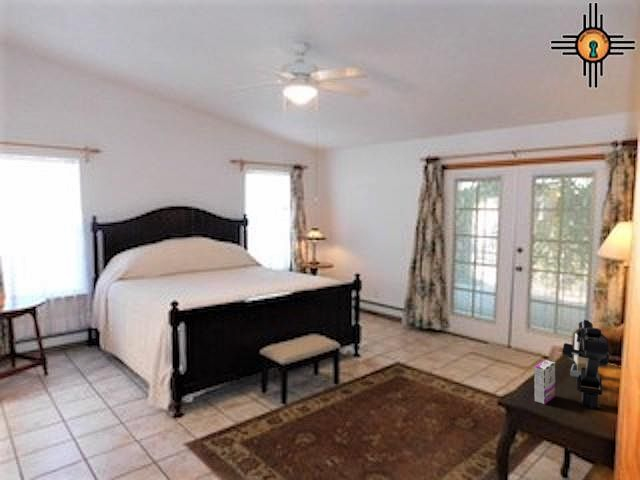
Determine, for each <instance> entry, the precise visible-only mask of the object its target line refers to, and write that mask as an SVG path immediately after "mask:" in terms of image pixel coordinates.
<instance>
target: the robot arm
mask: <svg viewBox="0 0 640 480" xmlns="http://www.w3.org/2000/svg"><path fill="white" fill-rule="evenodd" d="M575 330H576V331H575V333H576V334H577V335H578V337H577V342H579V343H580V344H579V350H575V349H574V344H572V343H567V342H564V343H563V347H562V351H561V354H562V356H564V357H566V358H568V359H569V360H571V361H572V362H574V355H578V356H579V357H582V358H586V359H587V363H586V368H583V367H582V368H581V372H580V375H578V377H576V391H578V392H579V393H581V400H578V401H577V402H578V404H580V405H581V406H582V407H584V408H585V409H588V410H589V409H590V410H591V409H592V410H593V409H602V406H600V405H599V402H598V401H599V396H602V395H603V389H602V388H603V387H602V386H603V385H602V378H601V377H600V372H599V367H608V366H609V359H610V354H609V342H608V338H607V337H606V336H605V335H603V334H602V331H601V329H600V328H598V327H597V328H596V327H594V325H593V323H592V322H591V321H590V320H587V319H584V320H583V321H580V322H578V328H577V329H575Z"/></svg>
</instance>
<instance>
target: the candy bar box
mask: <svg viewBox="0 0 640 480" xmlns="http://www.w3.org/2000/svg"><path fill="white" fill-rule="evenodd" d="M533 370H534V371H533V373H534V374H533V375H534V377H533V380H534V385H533V387H534V391H533V394H534V402H536V403H539V404H542V405H547V403H549V402H550V401H551V400H553V399H554V398H555V397H556V362H555V361H551V360H548V359H547V360H546V359H543V361H541V362H540V363H538V364H536V365H535V366H534V367H533Z"/></svg>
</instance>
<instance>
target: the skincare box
mask: <svg viewBox="0 0 640 480" xmlns="http://www.w3.org/2000/svg"><path fill="white" fill-rule="evenodd" d="M577 337H578V335H577V333H576V332H575V333H574V344H573V348H574V349H575V350H578V347H579V344H580V343H579V342H577ZM577 356H578V355H574V360H573V362H574V364H577Z"/></svg>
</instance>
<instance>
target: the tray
mask: <svg viewBox="0 0 640 480" xmlns="http://www.w3.org/2000/svg"><path fill="white" fill-rule="evenodd" d="M569 375H570V377H573V378H577V377H578V375H580V372H578V371H577V364H576V363H572V365H571V368H570V371H569Z"/></svg>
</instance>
